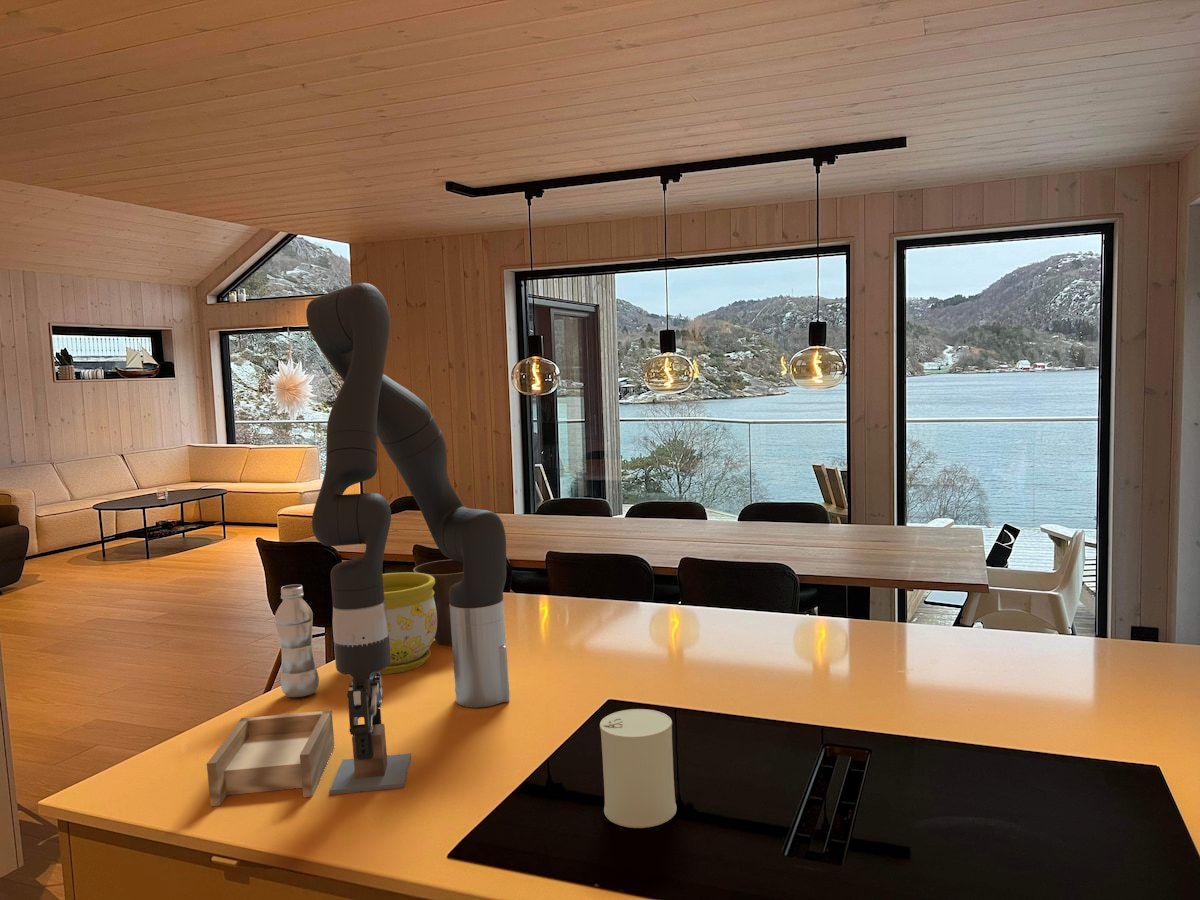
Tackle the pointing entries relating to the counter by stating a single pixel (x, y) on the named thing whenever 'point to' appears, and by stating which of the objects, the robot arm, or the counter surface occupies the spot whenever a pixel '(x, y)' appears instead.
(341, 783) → the mat
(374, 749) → the block
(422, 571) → the plant pot
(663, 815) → the can
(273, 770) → the crate
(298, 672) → the plastic bottle
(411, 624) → the flowerpot
